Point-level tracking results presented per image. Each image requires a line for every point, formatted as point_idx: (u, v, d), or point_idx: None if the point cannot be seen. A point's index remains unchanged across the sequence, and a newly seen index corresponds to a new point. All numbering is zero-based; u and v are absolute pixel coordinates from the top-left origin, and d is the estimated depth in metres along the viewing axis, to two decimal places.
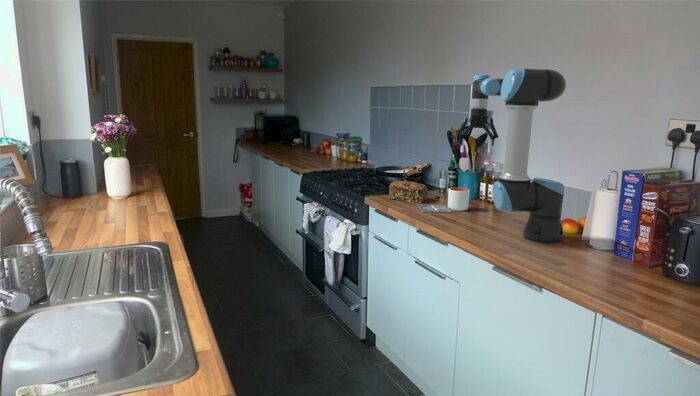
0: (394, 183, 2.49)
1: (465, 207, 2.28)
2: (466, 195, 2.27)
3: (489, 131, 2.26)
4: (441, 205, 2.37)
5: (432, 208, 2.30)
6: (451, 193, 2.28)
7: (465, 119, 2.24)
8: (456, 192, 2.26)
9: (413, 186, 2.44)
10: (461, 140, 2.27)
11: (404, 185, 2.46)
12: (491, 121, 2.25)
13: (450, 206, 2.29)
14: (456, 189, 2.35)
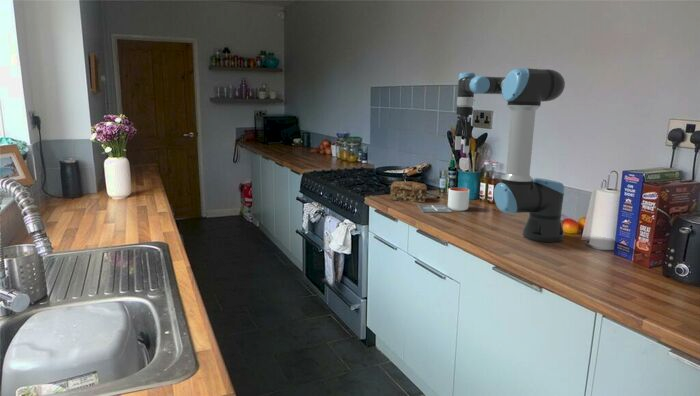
0: (395, 184, 2.47)
1: (465, 207, 2.28)
2: (466, 195, 2.27)
3: (464, 130, 2.19)
4: (441, 205, 2.37)
5: (432, 208, 2.30)
6: (451, 193, 2.28)
7: (457, 117, 2.29)
8: (456, 192, 2.26)
9: (416, 186, 2.45)
10: None
11: (406, 185, 2.46)
12: (465, 120, 2.17)
13: (450, 206, 2.29)
14: (456, 189, 2.35)
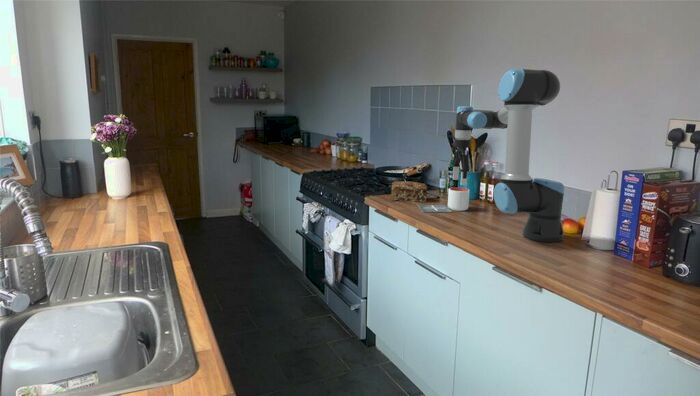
0: (396, 184, 2.46)
1: (465, 207, 2.28)
2: (466, 195, 2.27)
3: (461, 163, 2.22)
4: (441, 205, 2.37)
5: (432, 208, 2.30)
6: (451, 193, 2.28)
7: (455, 148, 2.33)
8: (456, 192, 2.26)
9: (417, 186, 2.45)
10: (454, 168, 2.36)
11: (407, 185, 2.45)
12: (463, 153, 2.20)
13: (450, 206, 2.29)
14: (456, 189, 2.35)
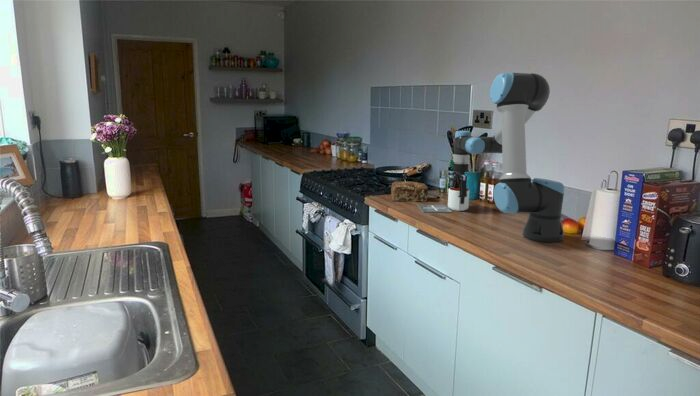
0: (398, 184, 2.45)
1: (465, 207, 2.28)
2: None
3: (459, 188, 2.25)
4: (441, 205, 2.37)
5: (432, 208, 2.30)
6: (451, 193, 2.28)
7: None
8: (456, 192, 2.26)
9: (418, 186, 2.45)
10: None
11: (409, 185, 2.45)
12: (461, 178, 2.23)
13: (450, 206, 2.29)
14: (456, 189, 2.35)
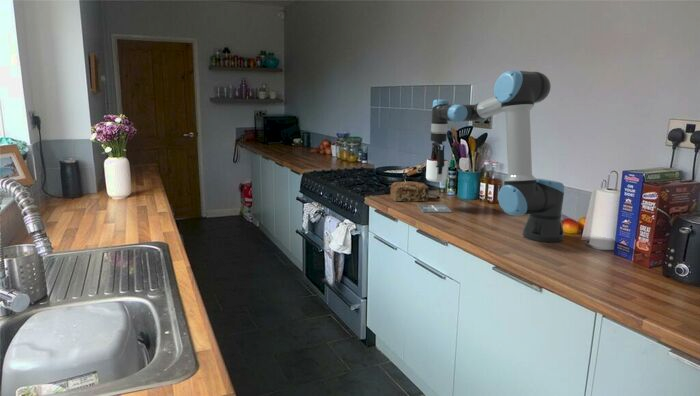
0: (400, 185, 2.44)
1: (443, 178, 2.23)
2: (444, 165, 2.22)
3: (437, 158, 2.20)
4: (441, 205, 2.37)
5: (432, 208, 2.30)
6: (429, 163, 2.23)
7: (432, 144, 2.30)
8: (434, 162, 2.21)
9: (419, 185, 2.46)
10: None
11: (410, 185, 2.45)
12: (438, 148, 2.18)
13: (428, 177, 2.25)
14: (435, 160, 2.30)
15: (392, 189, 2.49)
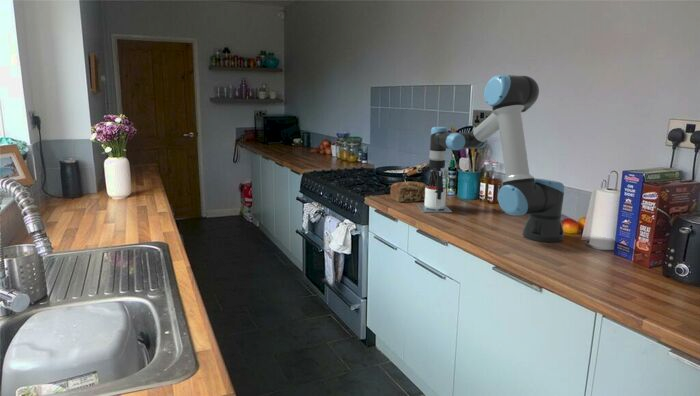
0: (402, 185, 2.43)
1: (441, 206, 2.26)
2: (442, 194, 2.25)
3: (436, 184, 2.22)
4: None
5: None
6: (427, 192, 2.26)
7: None
8: (432, 191, 2.24)
9: (421, 185, 2.47)
10: None
11: (412, 185, 2.45)
12: (437, 174, 2.21)
13: (426, 205, 2.27)
14: (433, 188, 2.33)
15: (393, 190, 2.47)
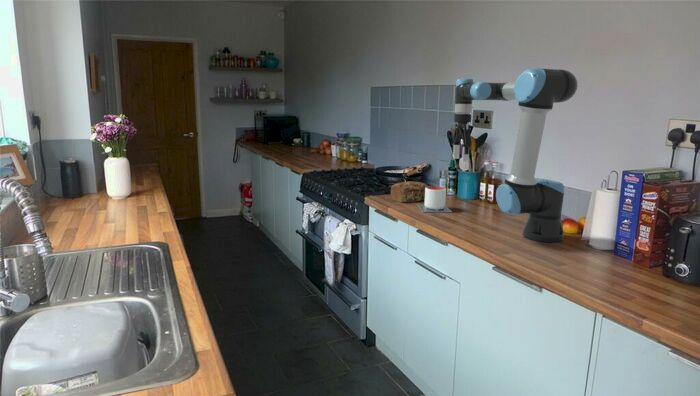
0: (405, 185, 2.43)
1: (441, 206, 2.26)
2: (442, 194, 2.25)
3: (463, 138, 2.10)
4: None
5: None
6: (427, 192, 2.26)
7: (455, 125, 2.21)
8: (432, 191, 2.24)
9: (421, 185, 2.48)
10: None
11: (414, 185, 2.46)
12: (464, 127, 2.09)
13: (426, 205, 2.27)
14: (433, 188, 2.33)
15: (395, 190, 2.46)
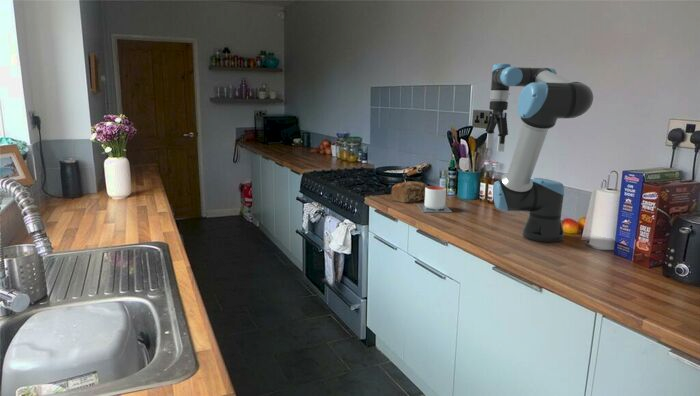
0: (407, 186, 2.42)
1: (441, 206, 2.26)
2: (442, 194, 2.25)
3: (498, 127, 2.00)
4: None
5: None
6: (427, 192, 2.26)
7: None
8: (432, 191, 2.24)
9: (421, 184, 2.49)
10: None
11: (415, 185, 2.46)
12: (500, 115, 1.98)
13: (426, 205, 2.27)
14: (433, 188, 2.33)
15: (397, 191, 2.45)
